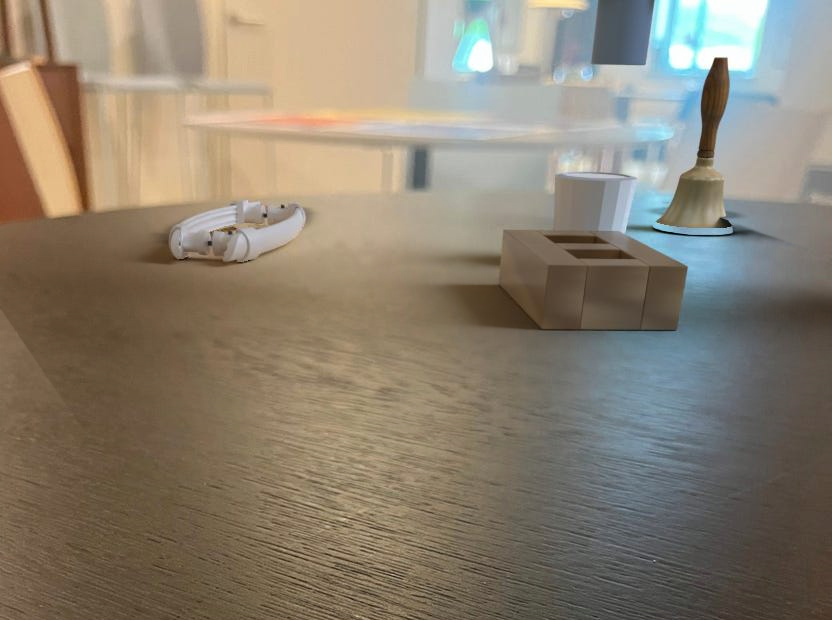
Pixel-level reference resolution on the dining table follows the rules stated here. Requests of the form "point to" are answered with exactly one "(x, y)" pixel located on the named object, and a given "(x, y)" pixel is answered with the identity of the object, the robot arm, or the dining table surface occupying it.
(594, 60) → the cylindrical bottle
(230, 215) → the white oval frame
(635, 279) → the holder
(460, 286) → the dining table surface
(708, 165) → the hand bell
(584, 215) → the white faceted cup
